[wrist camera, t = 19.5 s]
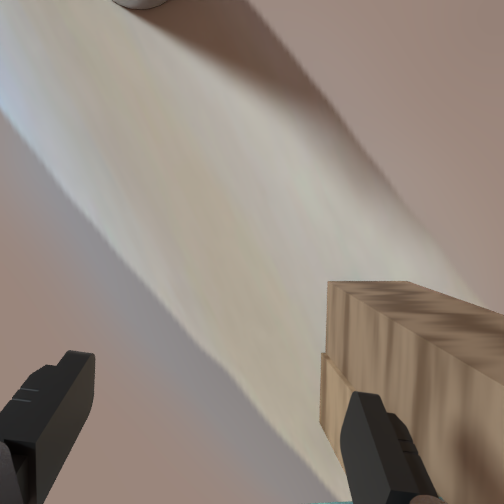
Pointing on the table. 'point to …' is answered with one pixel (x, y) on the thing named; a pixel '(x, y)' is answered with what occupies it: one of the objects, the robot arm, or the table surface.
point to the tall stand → (428, 376)
